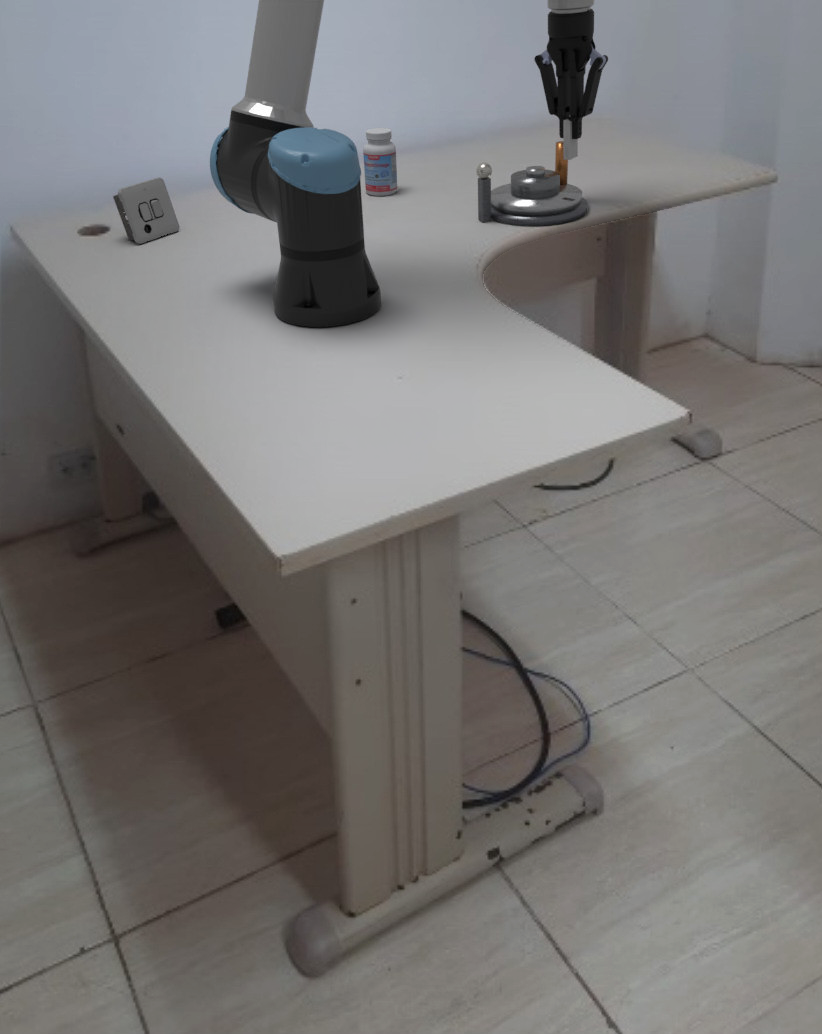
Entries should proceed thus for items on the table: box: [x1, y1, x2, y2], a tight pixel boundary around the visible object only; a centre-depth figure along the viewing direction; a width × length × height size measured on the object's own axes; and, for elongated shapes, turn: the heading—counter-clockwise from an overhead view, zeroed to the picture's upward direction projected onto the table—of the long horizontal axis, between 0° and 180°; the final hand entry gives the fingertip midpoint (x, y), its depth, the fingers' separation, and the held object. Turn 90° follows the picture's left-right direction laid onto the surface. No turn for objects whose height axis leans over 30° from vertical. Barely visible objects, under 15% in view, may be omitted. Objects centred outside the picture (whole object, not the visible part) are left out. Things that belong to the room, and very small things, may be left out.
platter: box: [491, 140, 583, 215], centre depth 182 cm, size 16×17×8 cm
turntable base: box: [491, 196, 589, 227], centre depth 185 cm, size 18×18×1 cm
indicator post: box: [476, 162, 493, 223], centre depth 179 cm, size 3×3×10 cm
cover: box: [510, 165, 560, 200], centre depth 183 cm, size 8×8×4 cm
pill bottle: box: [362, 127, 398, 197], centre depth 197 cm, size 6×6×11 cm
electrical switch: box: [112, 177, 180, 245], centre depth 181 cm, size 9×5×9 cm, turn 141°
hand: (570, 157), depth 185 cm, fingers closed
